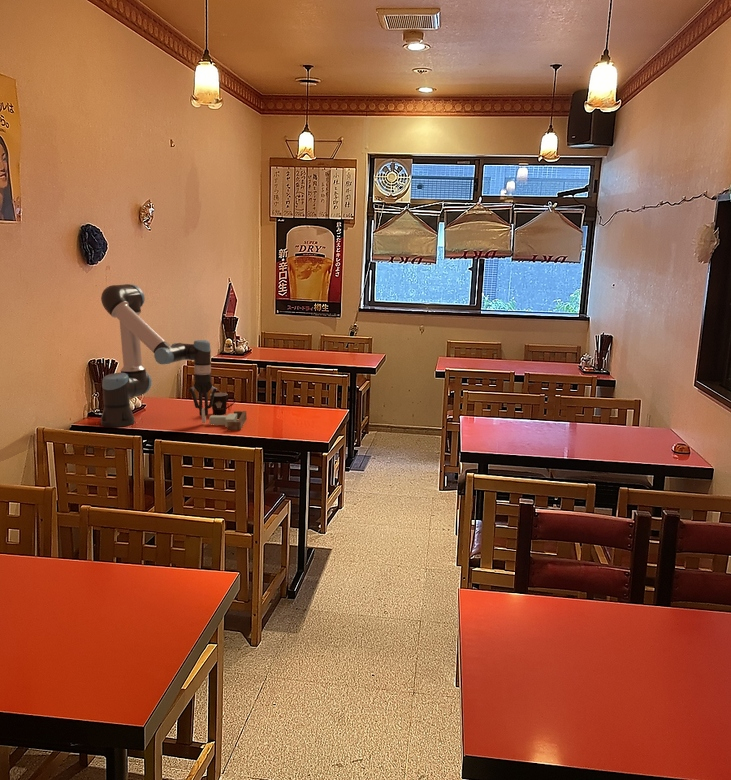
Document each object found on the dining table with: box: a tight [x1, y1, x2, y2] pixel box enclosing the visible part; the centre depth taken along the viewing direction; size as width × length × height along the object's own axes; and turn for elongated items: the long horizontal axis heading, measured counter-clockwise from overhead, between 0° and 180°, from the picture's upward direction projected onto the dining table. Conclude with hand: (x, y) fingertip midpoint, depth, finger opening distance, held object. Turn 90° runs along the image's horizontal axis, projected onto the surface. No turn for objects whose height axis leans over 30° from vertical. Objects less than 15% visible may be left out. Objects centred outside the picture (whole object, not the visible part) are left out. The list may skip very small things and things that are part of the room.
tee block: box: [208, 413, 238, 427], centre depth 331 cm, size 12×12×4 cm
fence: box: [227, 410, 248, 431], centre depth 331 cm, size 6×22×4 cm, turn 3°
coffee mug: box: [209, 392, 236, 415], centre depth 352 cm, size 12×9×10 cm
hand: (203, 422), depth 331 cm, fingers closed
